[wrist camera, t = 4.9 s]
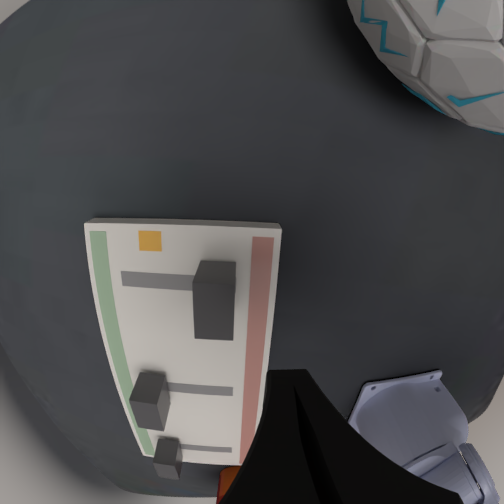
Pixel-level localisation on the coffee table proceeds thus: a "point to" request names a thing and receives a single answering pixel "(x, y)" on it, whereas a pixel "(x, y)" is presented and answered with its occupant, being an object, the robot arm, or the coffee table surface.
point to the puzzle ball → (442, 53)
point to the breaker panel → (186, 325)
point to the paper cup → (226, 480)
